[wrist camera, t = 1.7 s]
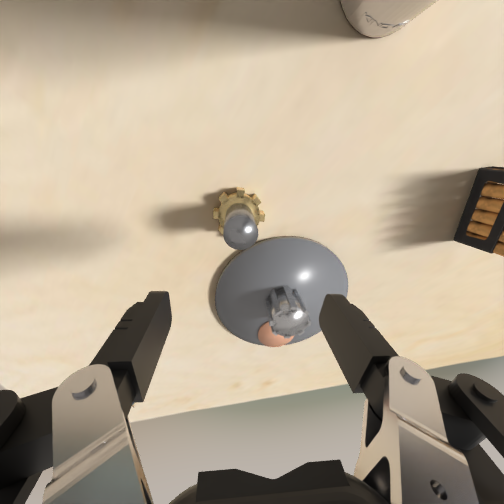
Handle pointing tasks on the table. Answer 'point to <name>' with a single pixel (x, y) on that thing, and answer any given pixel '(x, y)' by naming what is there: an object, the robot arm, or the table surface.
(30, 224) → the table surface
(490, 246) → the ammunition clip
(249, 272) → the carrier plate
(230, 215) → the planet gear
